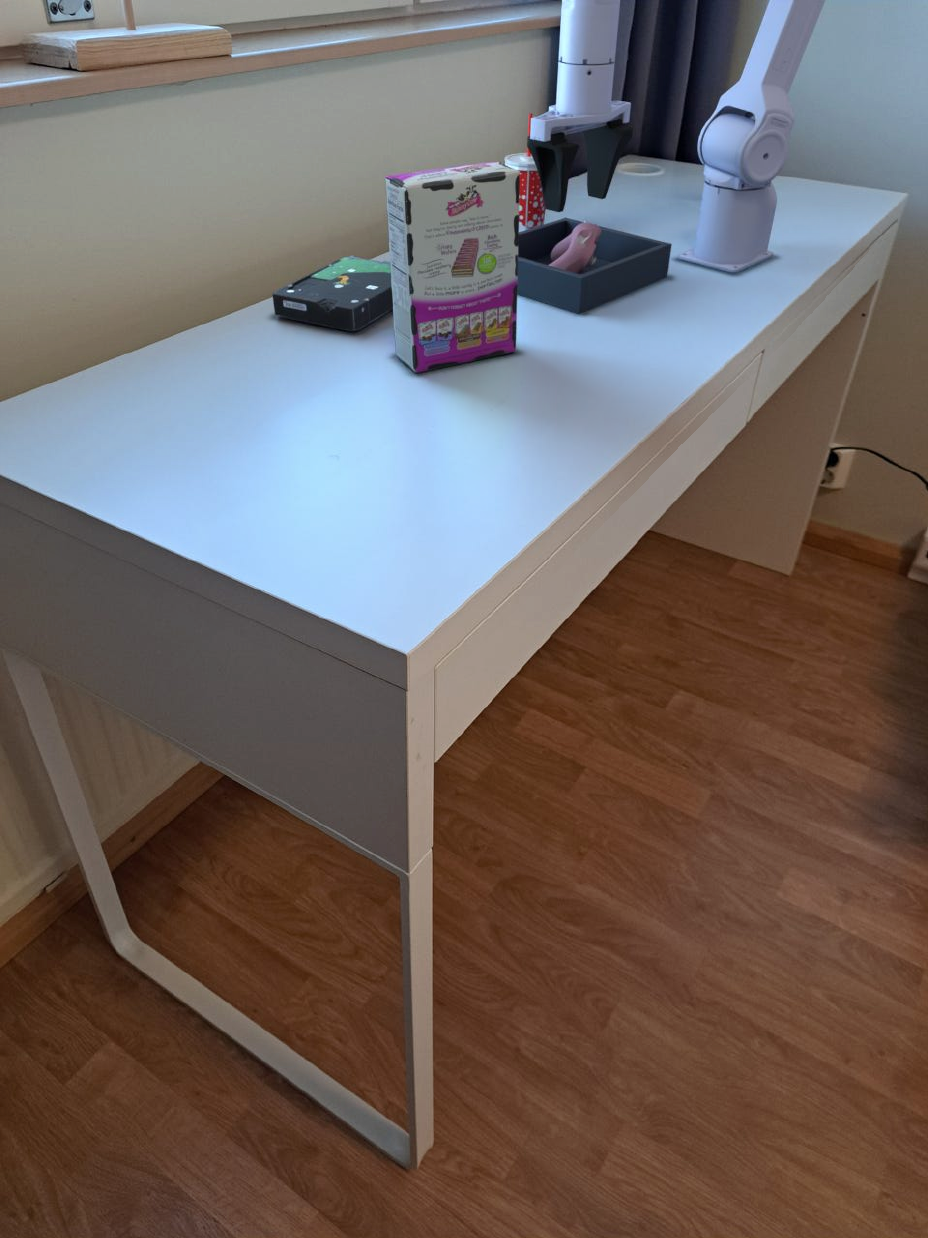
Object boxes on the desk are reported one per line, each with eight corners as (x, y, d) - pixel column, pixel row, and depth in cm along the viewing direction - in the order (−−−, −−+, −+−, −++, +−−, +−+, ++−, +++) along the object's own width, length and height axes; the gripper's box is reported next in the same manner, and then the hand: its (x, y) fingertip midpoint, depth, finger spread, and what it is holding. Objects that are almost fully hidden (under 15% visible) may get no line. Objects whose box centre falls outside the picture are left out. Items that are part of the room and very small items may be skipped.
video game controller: (571, 304, 104) (604, 248, 99) (536, 283, 103) (568, 226, 99) (580, 276, 111) (611, 223, 107) (548, 256, 111) (578, 202, 106)
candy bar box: (492, 336, 93) (496, 158, 83) (517, 353, 89) (524, 170, 79) (391, 356, 89) (382, 172, 79) (413, 374, 85) (406, 185, 75)
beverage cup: (549, 226, 124) (556, 109, 115) (548, 239, 119) (555, 118, 110) (504, 224, 124) (507, 108, 115) (501, 238, 119) (504, 117, 111)
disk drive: (357, 336, 93) (426, 290, 104) (355, 309, 91) (425, 264, 102) (273, 319, 97) (348, 276, 107) (269, 292, 95) (346, 251, 105)
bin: (563, 249, 116) (565, 217, 113) (667, 277, 107) (671, 243, 105) (473, 280, 106) (473, 246, 104) (579, 313, 98) (582, 277, 96)
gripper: (598, 50, 100) (587, 185, 108) (509, 64, 91) (505, 208, 100) (652, 57, 96) (636, 196, 104) (565, 71, 88) (555, 221, 96)
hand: (575, 203), depth 102 cm, fingers open, 7 cm apart
